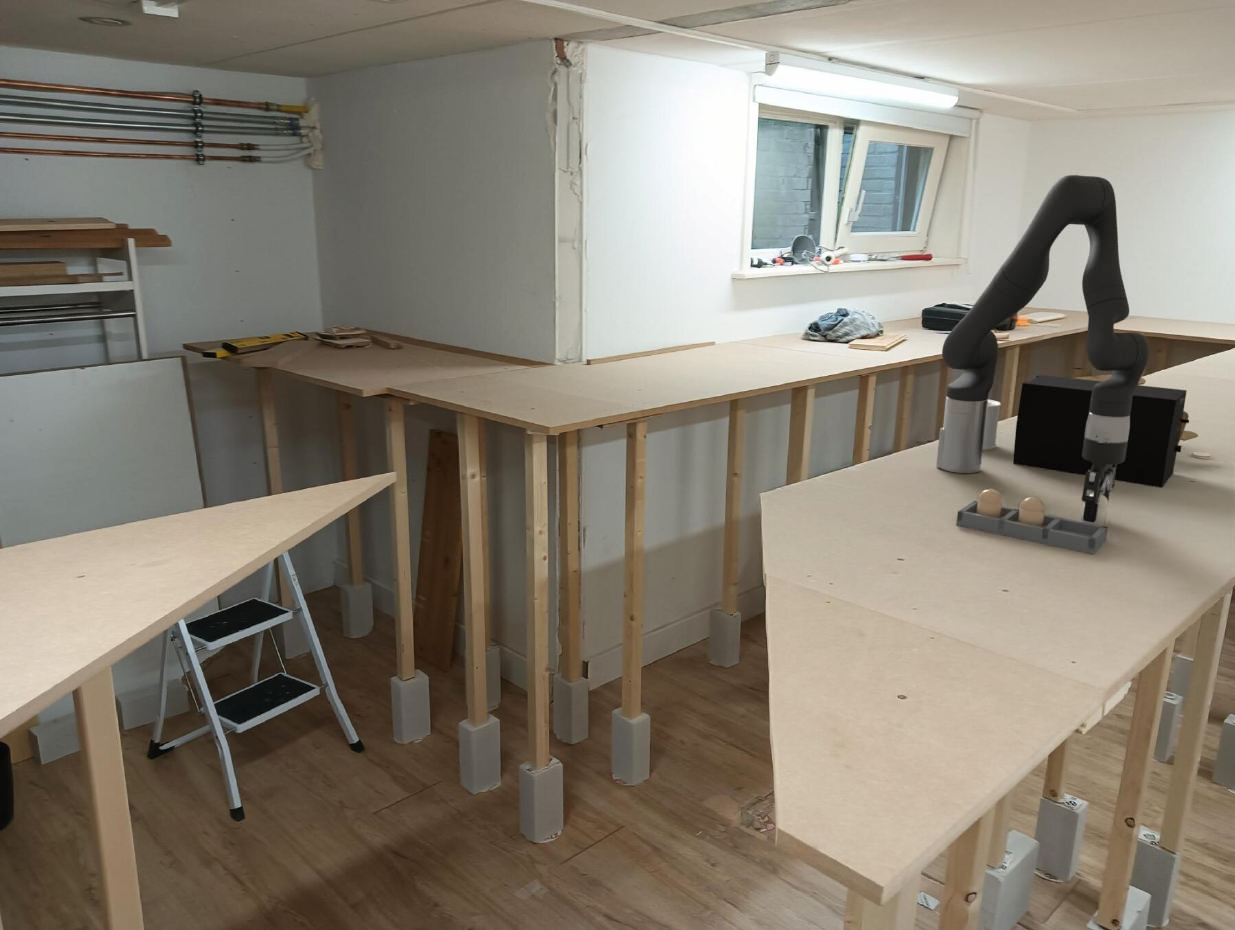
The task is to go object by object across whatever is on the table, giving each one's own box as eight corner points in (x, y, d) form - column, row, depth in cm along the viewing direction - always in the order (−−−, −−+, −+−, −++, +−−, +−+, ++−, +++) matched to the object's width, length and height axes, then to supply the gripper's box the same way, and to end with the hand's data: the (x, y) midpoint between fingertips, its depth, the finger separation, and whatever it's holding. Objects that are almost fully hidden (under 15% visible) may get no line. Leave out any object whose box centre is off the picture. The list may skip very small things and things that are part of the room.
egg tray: (956, 525, 186) (957, 511, 185) (972, 513, 193) (974, 500, 192) (1092, 554, 171) (1095, 539, 170) (1105, 540, 177) (1107, 526, 177)
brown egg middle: (1014, 528, 181) (1018, 497, 180) (1021, 522, 185) (1025, 492, 183) (1038, 533, 179) (1042, 502, 177) (1045, 527, 182) (1049, 496, 180)
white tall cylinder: (1001, 450, 241) (1010, 373, 236) (965, 450, 242) (973, 372, 236) (986, 440, 252) (994, 365, 246) (951, 440, 252) (959, 365, 246)
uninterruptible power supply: (1030, 451, 241) (1040, 373, 235) (1181, 474, 221) (1195, 390, 215) (1011, 465, 228) (1021, 383, 223) (1169, 490, 208) (1184, 401, 203)
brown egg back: (972, 519, 186) (975, 489, 185) (980, 514, 189) (983, 484, 188) (995, 524, 183) (998, 494, 182) (1002, 518, 187) (1006, 488, 185)
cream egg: (1078, 523, 187) (1082, 494, 185) (1084, 518, 190) (1088, 488, 189) (1102, 528, 184) (1106, 498, 183) (1108, 522, 188) (1112, 493, 186)
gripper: (1094, 426, 190) (1084, 503, 194) (1075, 440, 179) (1064, 521, 184) (1136, 432, 185) (1124, 510, 190) (1118, 446, 175) (1106, 529, 179)
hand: (1095, 515), depth 187 cm, fingers open, 8 cm apart
